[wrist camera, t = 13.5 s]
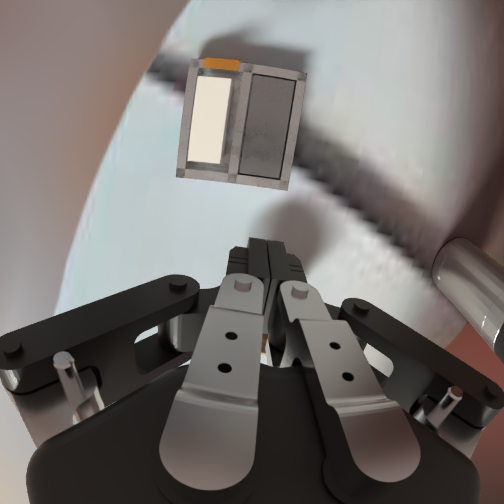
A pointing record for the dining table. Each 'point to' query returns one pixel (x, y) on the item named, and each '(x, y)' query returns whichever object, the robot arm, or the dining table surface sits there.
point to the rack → (248, 124)
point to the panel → (210, 119)
